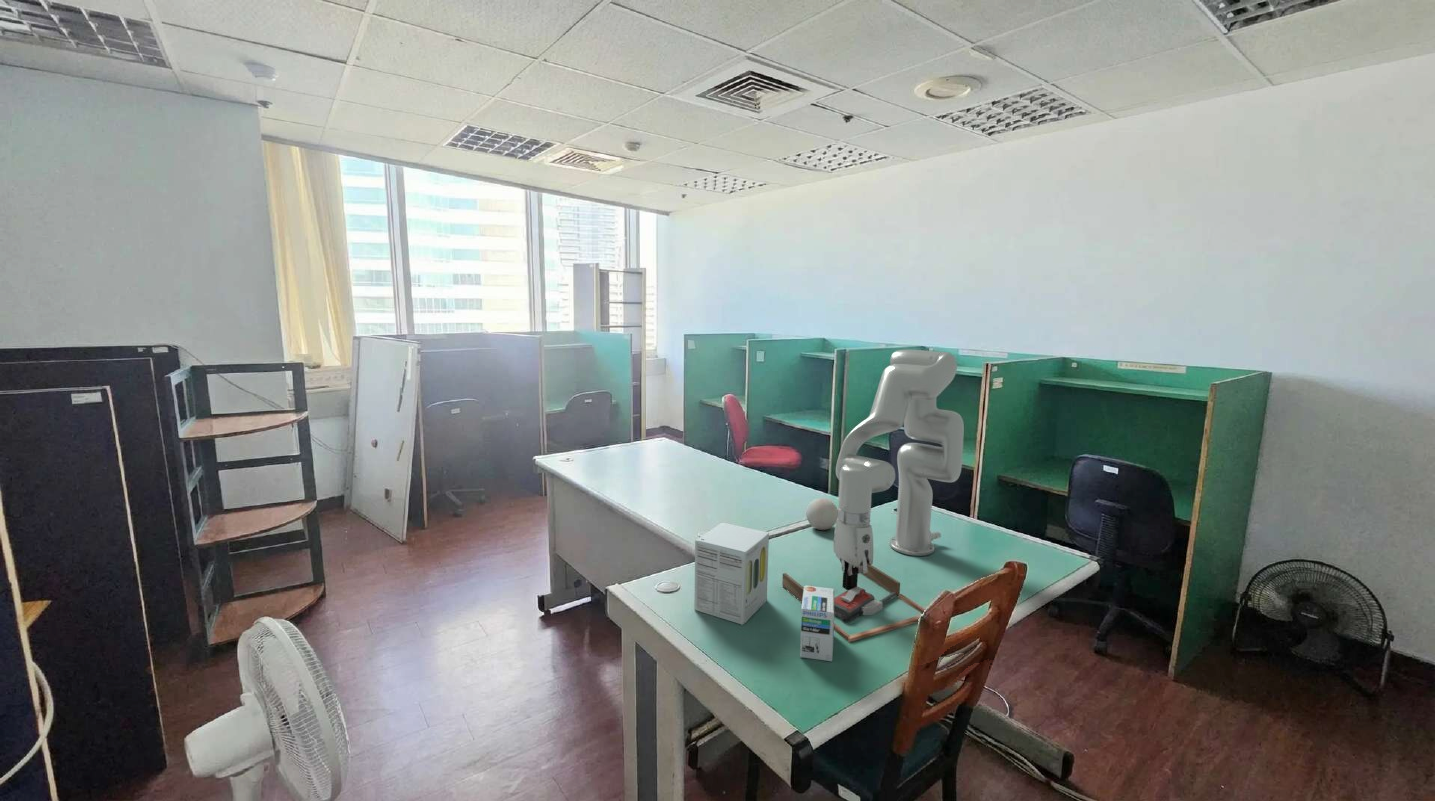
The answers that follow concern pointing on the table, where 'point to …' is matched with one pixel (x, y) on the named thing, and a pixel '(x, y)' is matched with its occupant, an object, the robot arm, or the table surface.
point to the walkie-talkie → (857, 604)
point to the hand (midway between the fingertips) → (849, 587)
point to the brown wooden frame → (876, 577)
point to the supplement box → (731, 572)
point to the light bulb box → (817, 623)
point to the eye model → (822, 513)
